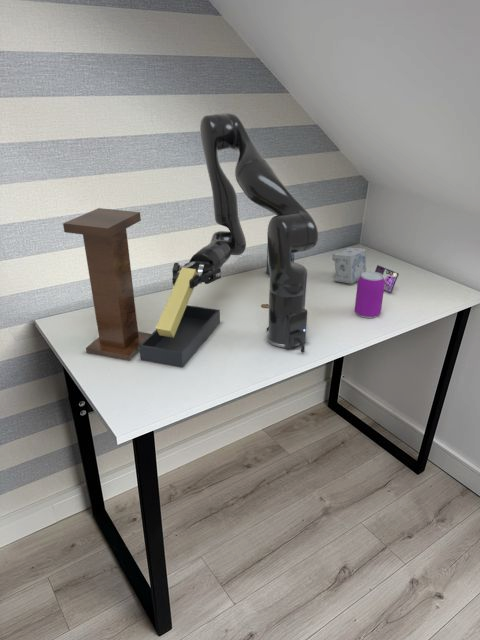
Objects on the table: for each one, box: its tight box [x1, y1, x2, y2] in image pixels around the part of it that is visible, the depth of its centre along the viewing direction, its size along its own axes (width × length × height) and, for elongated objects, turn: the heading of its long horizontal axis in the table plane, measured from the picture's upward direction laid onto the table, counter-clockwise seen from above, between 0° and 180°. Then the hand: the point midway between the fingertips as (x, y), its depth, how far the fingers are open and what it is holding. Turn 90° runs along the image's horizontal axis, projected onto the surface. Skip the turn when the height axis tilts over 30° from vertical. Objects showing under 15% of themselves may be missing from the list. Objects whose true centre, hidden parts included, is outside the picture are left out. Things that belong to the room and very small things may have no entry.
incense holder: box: [332, 247, 367, 284], centre depth 171 cm, size 10×8×10 cm
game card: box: [374, 264, 399, 294], centre depth 167 cm, size 7×5×9 cm
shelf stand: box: [62, 207, 152, 362], centre depth 123 cm, size 14×12×33 cm
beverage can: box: [354, 270, 386, 319], centre depth 148 cm, size 8×8×12 cm
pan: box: [139, 304, 221, 368], centre depth 134 cm, size 25×11×4 cm, turn 163°
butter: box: [155, 267, 197, 338], centre depth 128 cm, size 19×4×3 cm, turn 164°
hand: (182, 283), depth 129 cm, fingers closed on butter, 4 cm apart
